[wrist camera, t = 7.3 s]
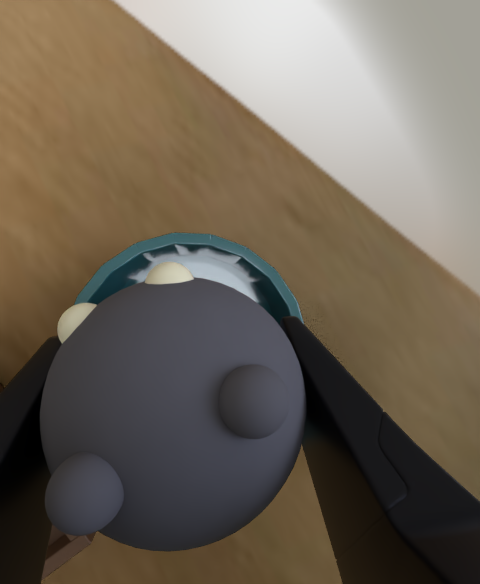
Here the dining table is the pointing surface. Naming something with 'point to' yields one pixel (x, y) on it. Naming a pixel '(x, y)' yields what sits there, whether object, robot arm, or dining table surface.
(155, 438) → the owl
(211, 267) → the teal bowl
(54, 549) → the tray
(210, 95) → the dining table surface
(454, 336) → the dining table surface
